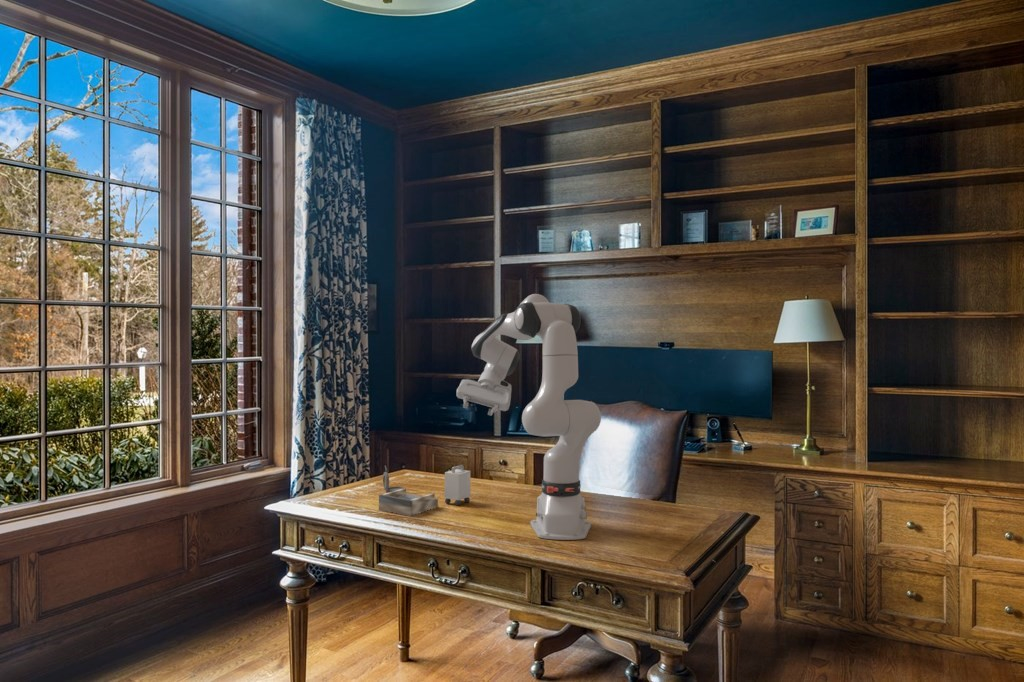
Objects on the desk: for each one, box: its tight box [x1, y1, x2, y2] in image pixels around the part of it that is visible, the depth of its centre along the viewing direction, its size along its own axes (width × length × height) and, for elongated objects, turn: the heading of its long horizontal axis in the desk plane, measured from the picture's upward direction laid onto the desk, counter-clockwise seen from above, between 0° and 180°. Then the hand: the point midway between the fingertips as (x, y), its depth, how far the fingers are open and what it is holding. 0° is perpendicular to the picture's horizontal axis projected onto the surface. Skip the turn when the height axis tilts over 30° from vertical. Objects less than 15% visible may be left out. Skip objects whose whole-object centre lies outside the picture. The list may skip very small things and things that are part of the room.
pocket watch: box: [382, 465, 404, 493], centre depth 256 cm, size 8×8×10 cm
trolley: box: [444, 464, 472, 506], centre depth 240 cm, size 7×6×13 cm
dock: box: [378, 487, 439, 517], centre depth 231 cm, size 14×14×5 cm
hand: (477, 410), depth 247 cm, fingers open, 8 cm apart
